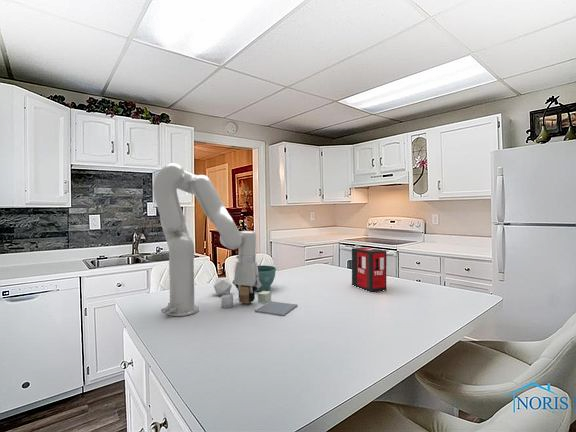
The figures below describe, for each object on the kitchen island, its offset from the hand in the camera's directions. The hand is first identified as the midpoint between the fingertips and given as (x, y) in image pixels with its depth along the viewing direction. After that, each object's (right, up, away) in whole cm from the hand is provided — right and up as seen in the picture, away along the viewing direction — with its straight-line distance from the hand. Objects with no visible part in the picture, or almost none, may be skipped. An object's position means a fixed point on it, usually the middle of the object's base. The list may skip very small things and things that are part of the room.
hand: (246, 299), depth 143 cm
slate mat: (+14, -2, -8) cm, 16 cm away
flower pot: (+4, -1, +25) cm, 25 cm away
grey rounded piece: (-8, -2, -4) cm, 9 cm away
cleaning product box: (+60, -1, +25) cm, 65 cm away
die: (-13, -2, +15) cm, 20 cm away
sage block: (+8, -2, +4) cm, 9 cm away
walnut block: (0, -1, 0) cm, 1 cm away
